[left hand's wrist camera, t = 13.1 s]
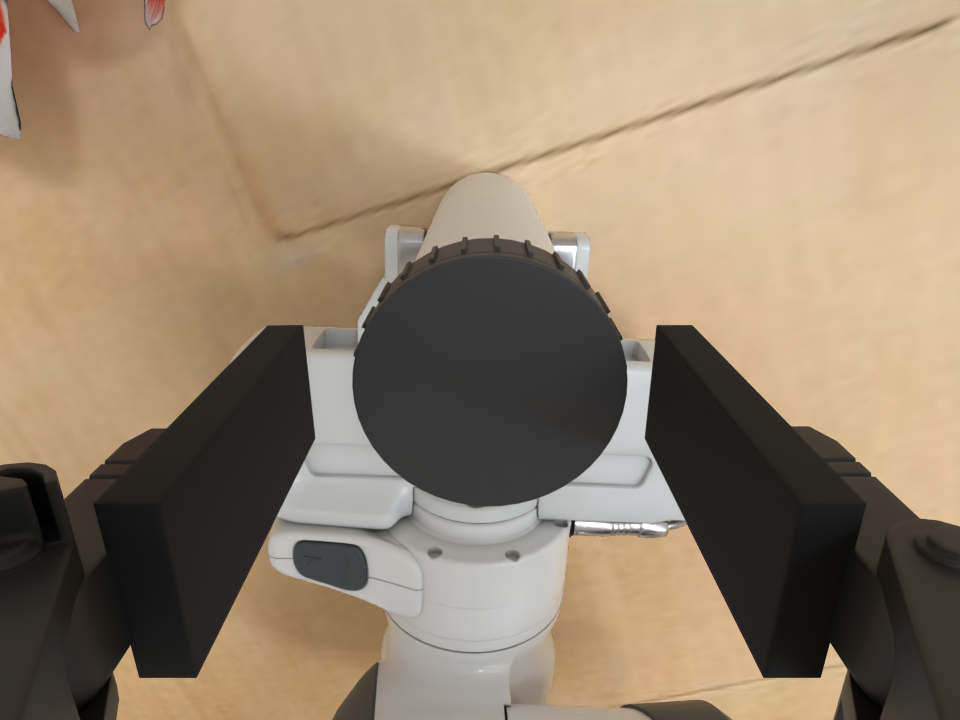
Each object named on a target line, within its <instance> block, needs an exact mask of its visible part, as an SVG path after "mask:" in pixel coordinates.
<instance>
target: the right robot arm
mask: <svg viewBox="0 0 960 720" xmlns="http://www.w3.org/2000/svg"><path fill="white" fill-rule="evenodd" d="M426 234H427V227H425V226H408V225H389V226H388V228H387V229H386V233H385V242H384V244H385V274H384V275H383V277H382V279H381V281H380V282H379V284H378V286H377V288H376V289H375V291H374V293H373V294H372V296H371V298H370V300H369V301H368V303H367V305H366V306H365V308H364V310H363V312H362V313H361V315H360V317H359V319H358V320H357V328H343V327H317V326H303V327H304V337H305V346H306V355H307V364H308V374H309V383H310V392H311V402H312V411H313V420H314V429H315V441H314V443H313V445H312V447H311V449H310V451H309V453H308V455H307V457H306V459H305V461H304V463H303V465H302V467H301V469H300V471H299V473H298V475H297V477H296V479H295V481H294V483H293V485H292V487H291V489H290V491H289V493H288V495H287V497H286V499H285V501H284V503H283V505H282V507H281V509H280V511H279V513H278V515H277V517H276V519H275V521H274V523H273V526H272V529H271V533H270V536H269V540H268V556H269V561H270V563H271V565H272V566H273V567H274V568H275V569H276V570H277V571H279V572H281V573H283V574H285V575H288V576H291V577H294V578H297V579H301V580H304V581H308V582H311V583H315V584H318V585H321V586H325V587H328V588H331V589H334V590H337V591H340V592H343V593H346V594H349V595H352V596H354V597H357V598H359V599H362V600H364V601H367V602H369V603H372V604H374V605H376V606H378V607H380V608H383V609H384V611H385V614H386V617H387V621H388V626H387V629H386V631H385V634H384V638H383V642H382V650H381V663H378V662H377V663H376V664H374V665H373V666H372V667H371V668H370V669H369V670H368V671H367V672H366V673H365V674H364V675H363V676H362V678H361V679H360V680H359V681H358V683H357V684H356V685H355V687H354V688H353V689H352V691H351V692H350V693H349V695H348V696H347V697H346V699H345V700H344V701H343V703H342V704H341V706H340V707H339V708H338V710H337V712H336V714H335V716H334V718H333V720H732V719H731V718H729V717H728V716H727V715H725V714H724V713H723V712H721V711H720V710H719V709H718V708H716V707H715V706H713V705H712V704H710V703H708V702H706V701H703V700H688V701H673V702H658V703H643V704H629V705H623V706H621V707H620V708H612V707H584V706H556V705H549V703H550V698H551V692H552V685H553V678H554V670H555V648H554V642H553V638H552V635H551V630H552V628H553V626H554V624H555V622H556V620H557V618H558V615H559V612H560V608H561V605H562V598H563V590H564V581H565V572H566V563H567V555H568V547H569V546H568V543H569V537H571V535H577V536H616V535H635V536H638V537H641V538H659V537H665V536H667V534H668V530H672V529H677V528H680V527H682V526H684V525H686V524H687V523H686V521H685V519H684V517H683V515H682V513H681V511H680V509H679V507H678V505H677V503H676V501H675V499H674V497H673V495H672V493H671V491H670V489H669V487H668V485H667V483H666V481H665V479H664V477H663V475H662V473H661V471H660V469H659V467H658V465H657V463H656V461H655V459H654V457H653V455H652V453H651V451H650V449H649V447H648V445H647V443H646V441H645V429H646V420H647V411H648V402H649V392H650V383H651V374H652V364H653V355H654V346H655V340H646V339H623V340H621V344H622V346H623V351H624V355H625V359H626V364H627V378H628V381H627V396H626V401H625V406H624V411H623V414H622V417H621V419H620V422H619V425H618V427H617V429H616V431H615V433H614V435H613V437H612V439H611V441H610V443H609V444H608V445H607V447H606V448H605V450H604V451H603V453H602V454H601V455H600V456H599V458H598V459H597V460H596V461H595V462H594V463H593V464H592V465H591V466H590V467H589V468H588V469H587V470H586V471H585V472H583V473H582V474H581V475H580V476H579V477H578V478H576V479H575V480H573V481H572V482H570V483H569V484H567V485H566V486H564V487H562V488H560V489H558V490H556V491H554V492H552V493H550V494H548V495H546V496H543V497H540V498H537V499H535V500H531V501H527V502H523V503H519V504H513V505H506V506H473V505H465V504H460V503H455V502H451V501H448V500H445V499H442V498H438V497H436V496H433V495H431V494H429V493H427V492H424V491H422V490H420V489H419V488H417V487H415V486H414V485H412V484H410V483H409V482H407V481H406V480H404V479H403V478H402V477H401V476H399V475H398V474H397V473H395V472H394V471H393V470H392V469H391V468H390V467H389V466H388V465H387V464H386V463H385V462H384V461H383V460H382V459H381V457H380V456H379V455H378V453H377V452H376V451H375V450H374V448H373V447H372V445H371V443H370V442H369V440H368V438H367V437H366V435H365V433H364V431H363V428H362V426H361V424H360V421H359V419H358V415H357V412H356V408H355V404H354V397H353V389H352V376H353V365H354V359H355V357H354V356H353V355H354V351H355V349H356V347H357V345H358V343H359V341H360V338H361V336H362V334H363V332H364V330H365V329H364V328H362V325H363V323H364V321H365V319H366V317H367V315H368V313H369V312H370V310H371V308H372V306H374V307H376V306H377V305H378V303H379V302H378V301H377V300H378V298H379V296H380V294H381V292H382V290H383V288H384V287H385V285H386V283H387V282H390V283H392V282H393V281H394V280H395V279H396V278H397V276H398V275H399V274H400V273H401V272H402V271H403V270H404V267H405V265H406V263H407V262H409V261H411V262H412V263H413V262H415V260H416V257H417V255H418V253H419V250H420V248H421V246H422V244H423V241H424V239H425V237H426ZM548 236H549V238H550V240H551V242H552V244H553V246H554V248H555V250H556V252H557V253H558V254H559V256H560V258H561V260H563V261H564V262H565V263H567V264H568V265H569V266H571V267H572V268H573V269H574V270H575V271H576V272H577V271H578V270H579V269H580V270H581V271H582V272H583V274H584V276H585V277H586V279H587V276H588V267H589V257H590V238H589V236H588V235H587V234H586V233H582V232H550V231H549V232H548ZM267 326H268V325H267ZM267 326H264V327H262V328H261V329H259V330H258V331H257V332H256V333H255V334H254V335H253V336H252V337H251V338H249V339H248V340H247V341H246V342H245V343H244V344H243V345H242V347H241V348H240V349H239V350H238V351H237V352H236V354H235V355H234V357H233V358H232V360H231V361H230V363H231V362H232V361H233V360H234V359H235V358H236V357H237V356H238V355H239V354H240V353H241V352H242V351H243V350H244V349H245V348H246V347H247V346H248V345H249V344H250V343H251V342H252V341H253V340H254V339H255V338H256V337H257V336H258V335H259V334H260V333H261V332H262V331H263V330H264V329H265V328H266V327H267ZM230 363H229V364H230ZM668 520H671V521H668Z"/></svg>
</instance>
